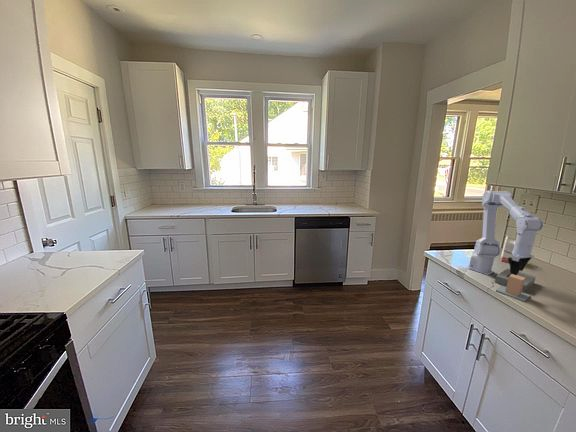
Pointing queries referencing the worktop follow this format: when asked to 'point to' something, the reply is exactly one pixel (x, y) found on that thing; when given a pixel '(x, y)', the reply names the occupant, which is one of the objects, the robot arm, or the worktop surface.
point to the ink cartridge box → (507, 250)
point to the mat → (521, 297)
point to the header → (529, 279)
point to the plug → (515, 284)
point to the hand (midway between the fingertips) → (516, 272)
